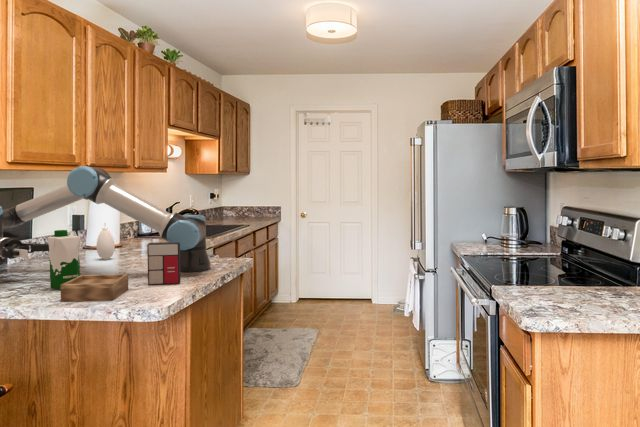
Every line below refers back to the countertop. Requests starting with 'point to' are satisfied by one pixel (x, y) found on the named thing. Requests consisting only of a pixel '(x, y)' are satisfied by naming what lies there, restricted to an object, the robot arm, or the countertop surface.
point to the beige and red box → (163, 263)
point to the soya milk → (63, 258)
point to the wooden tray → (94, 288)
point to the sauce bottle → (105, 244)
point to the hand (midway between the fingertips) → (45, 251)
